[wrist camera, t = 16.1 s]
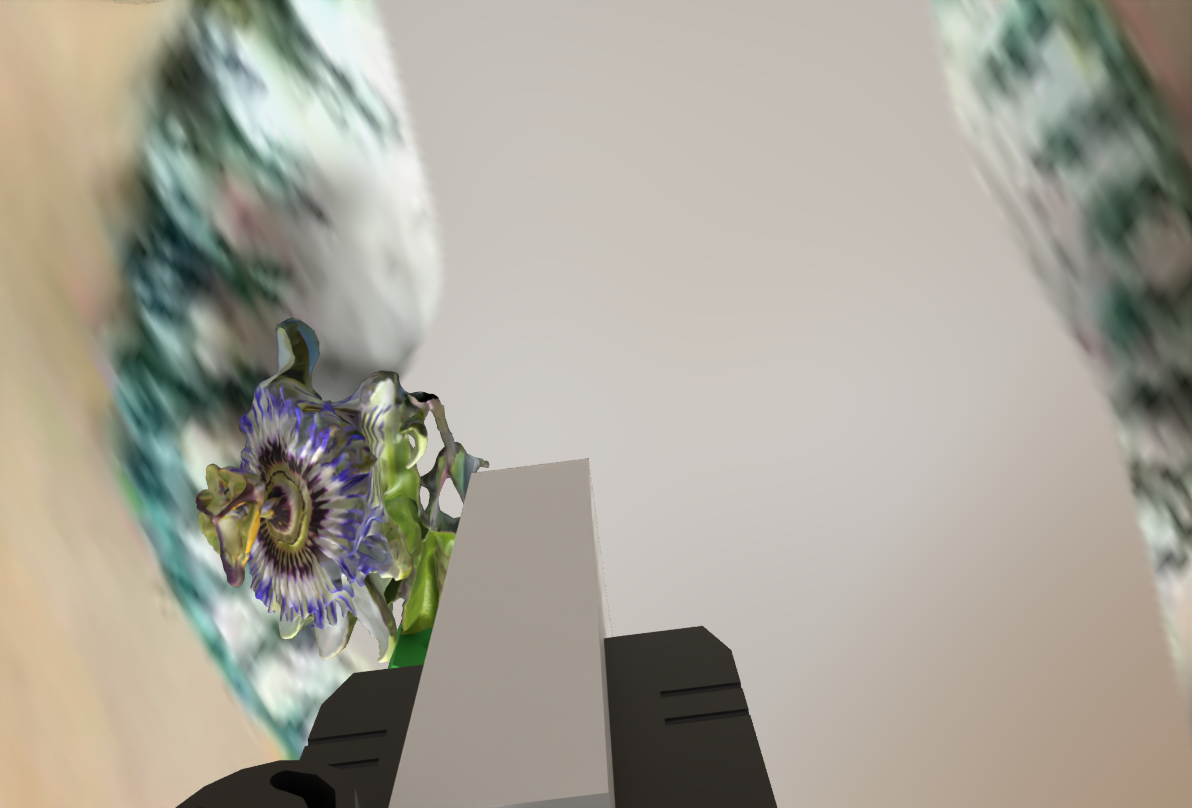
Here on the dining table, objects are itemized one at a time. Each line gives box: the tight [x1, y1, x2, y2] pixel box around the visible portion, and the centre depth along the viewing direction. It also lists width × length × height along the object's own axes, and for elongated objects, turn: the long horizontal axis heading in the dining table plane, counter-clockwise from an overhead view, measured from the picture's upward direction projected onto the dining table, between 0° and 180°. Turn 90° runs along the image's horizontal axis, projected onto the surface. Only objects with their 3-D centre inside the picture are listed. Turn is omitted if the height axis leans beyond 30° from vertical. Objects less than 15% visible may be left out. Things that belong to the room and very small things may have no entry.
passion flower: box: [196, 318, 489, 662], centre depth 38 cm, size 11×11×12 cm
